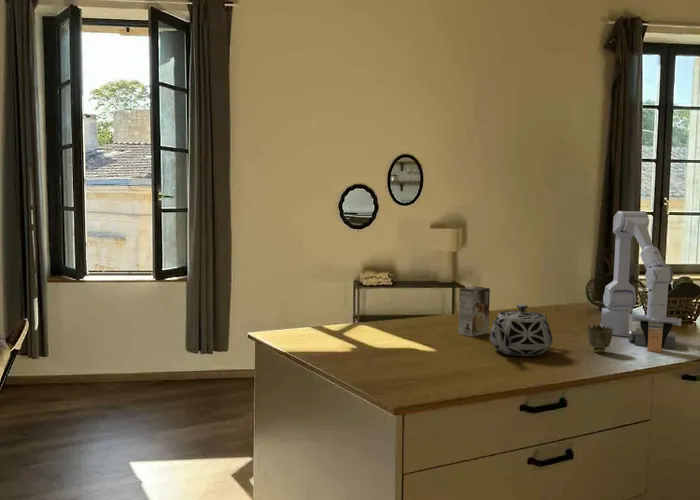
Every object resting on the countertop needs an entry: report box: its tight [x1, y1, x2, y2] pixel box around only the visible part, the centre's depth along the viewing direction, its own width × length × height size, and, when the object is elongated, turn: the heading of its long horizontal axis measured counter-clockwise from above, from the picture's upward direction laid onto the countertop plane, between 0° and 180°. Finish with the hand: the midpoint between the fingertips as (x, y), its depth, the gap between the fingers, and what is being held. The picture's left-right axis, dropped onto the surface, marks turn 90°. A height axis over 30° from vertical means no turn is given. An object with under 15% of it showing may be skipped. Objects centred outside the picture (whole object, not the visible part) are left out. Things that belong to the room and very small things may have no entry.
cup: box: [587, 324, 613, 354], centre depth 222 cm, size 8×7×8 cm
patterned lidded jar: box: [489, 303, 553, 357], centre depth 220 cm, size 19×31×15 cm, turn 135°
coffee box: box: [458, 285, 491, 338], centre depth 246 cm, size 9×6×16 cm
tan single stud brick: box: [647, 330, 662, 353], centre depth 225 cm, size 4×6×6 cm
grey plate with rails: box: [628, 323, 676, 350], centre depth 235 cm, size 14×9×6 cm, turn 67°
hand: (654, 345), depth 226 cm, fingers closed on tan single stud brick, 4 cm apart
